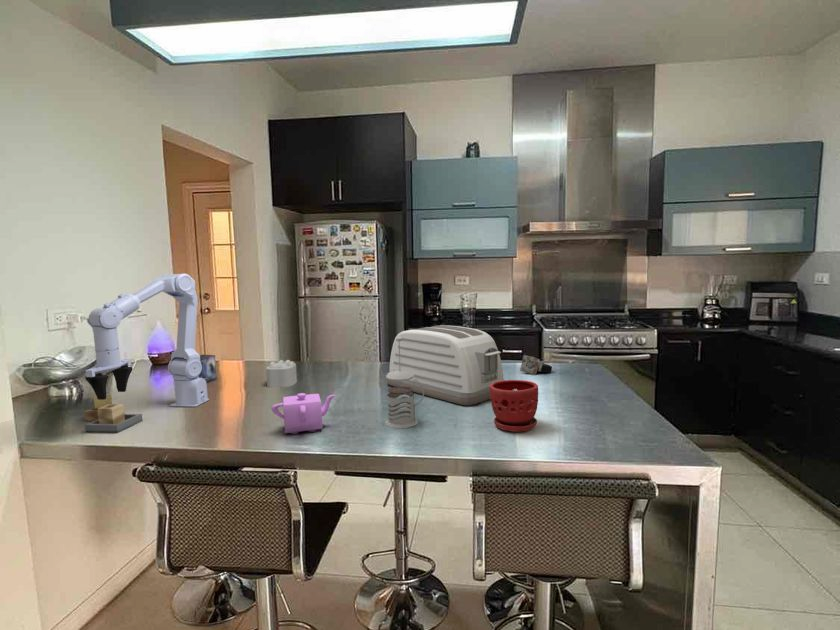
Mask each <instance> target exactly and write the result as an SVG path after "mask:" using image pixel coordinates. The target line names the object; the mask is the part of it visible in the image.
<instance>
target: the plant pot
mask: <svg viewBox="0 0 840 630" xmlns="http://www.w3.org/2000/svg"><path fill="white" fill-rule="evenodd" d="M538 385H539V384H537V383H536V382H533V381H530V380H521V379H504V381H498V382H495V383H492V384H491V385H490V399H489V400H490V405H491V409H492V412H493V414H494V416H495V418H494V419H493V422H494V425H495V426H496V427H498V429H501V430H503V431H507V432H515V433H516V432H517V433H518V432H520V433H521V432H527V431H530V430H532V429H533V428H535V427H536V425H537V423H538V420H537V418H535V415H536V414H537V410H538V406H539V405H538V404H539V386H538Z"/></svg>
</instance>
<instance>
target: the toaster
mask: <svg viewBox="0 0 840 630" xmlns="http://www.w3.org/2000/svg"><path fill="white" fill-rule="evenodd" d="M397 337H401V338H402V341H400V366H399V341H396V338H397ZM501 353H502V352H501V351H499V349H498V347H497V344H496V342H495V339H494V338H493V337H492V336H491V335H490V334H488V333H487V332H485V331H483V330H480V329H477V328H471V327H467V326H466V327H465V326H457V325H442V324H440V325H433V326H430V327H429V326H425V327H420V328H417V329H412V328H411V329H408V330H407V329H406V330H403V331H401V332H399V333H398V334H397V335H396V336H395V338H394V340H393V344H392V347H391V352H390V359H389V371H388V372H387V373H386V376H387V375H388V374H389V373H391V372H393V371H396V370H406V371H408V372H411V373H412V374H414V377H413V378H412V379H409V380H404V381H401V386H402V387H411V388H412V389H413V391H412V393H417V394H420V395H423V390H422V388H421V386H420V385H421V384H422V386H423V388H424V396H426V397H431V398H435V399H438V400H441V401H445V402H449V403H454V404H457V405H461V406H468V407H469V406H474V405H475V404H479V403H482V402H485V401H488V400H491V399H490V385H491V384H492V383H495V382H498V381H504V380H505V379H504V370H503V365H502V359H501V356H500V354H501ZM413 380H417V381H416V382H418V381H419V382H420V383H421V384H420V383H419V382H418V383H419V384H420V385H419V384H418V383H416V382H414V385H413ZM386 383H387V384H388V385H389V386H391V387H396V386H400V381H393V380H389V379H387V378H386Z"/></svg>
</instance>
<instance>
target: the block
mask: <svg viewBox="0 0 840 630" xmlns="http://www.w3.org/2000/svg"><path fill="white" fill-rule="evenodd" d="M124 405H125V404H124ZM124 405H123V403H112V404H108V405H106V406H103V407H101V408H98V418H99V424H118V423H120V422H122V421H125V415H124V414H125V408H124V407H125V406H124Z"/></svg>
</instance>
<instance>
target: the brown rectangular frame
mask: <svg viewBox="0 0 840 630" xmlns="http://www.w3.org/2000/svg"><path fill="white" fill-rule="evenodd" d="M122 404H123V403H122ZM123 405H125V404H123ZM84 418H85V419H84V420H85V422H93V421H95V420H98V419H99V418H98V410H95V406H94V407H92V408H90V409H87V410H84Z"/></svg>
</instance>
